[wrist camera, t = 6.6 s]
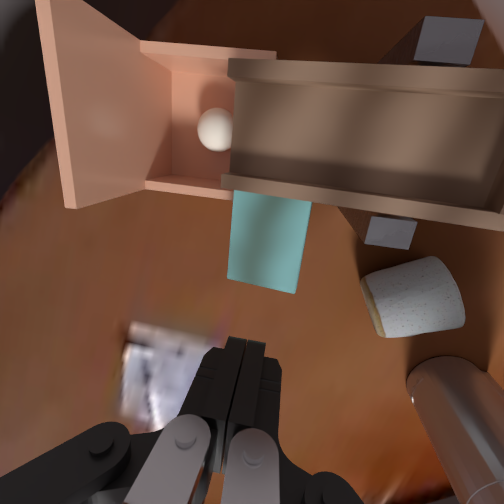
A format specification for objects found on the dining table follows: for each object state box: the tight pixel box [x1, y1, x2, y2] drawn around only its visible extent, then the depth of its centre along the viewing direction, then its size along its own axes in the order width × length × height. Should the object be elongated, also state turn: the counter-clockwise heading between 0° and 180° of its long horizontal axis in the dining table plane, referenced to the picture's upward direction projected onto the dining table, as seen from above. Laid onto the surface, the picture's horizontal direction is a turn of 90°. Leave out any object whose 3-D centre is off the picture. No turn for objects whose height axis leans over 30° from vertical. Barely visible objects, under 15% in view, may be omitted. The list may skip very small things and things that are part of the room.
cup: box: [35, 0, 278, 209], centre depth 23 cm, size 12×12×16 cm
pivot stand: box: [338, 16, 485, 250], centre depth 23 cm, size 3×13×12 cm, turn 174°
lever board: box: [221, 58, 504, 294], centre depth 22 cm, size 20×16×10 cm
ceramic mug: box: [360, 256, 465, 338], centre depth 30 cm, size 11×8×8 cm
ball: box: [197, 108, 233, 152], centre depth 27 cm, size 4×4×4 cm
